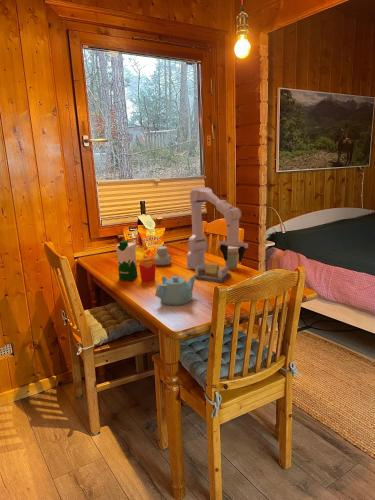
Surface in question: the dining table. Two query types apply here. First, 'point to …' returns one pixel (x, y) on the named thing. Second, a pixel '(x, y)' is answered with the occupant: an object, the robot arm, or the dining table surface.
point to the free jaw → (222, 272)
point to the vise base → (201, 276)
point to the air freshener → (162, 256)
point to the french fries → (147, 269)
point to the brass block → (211, 269)
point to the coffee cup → (232, 258)
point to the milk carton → (126, 260)
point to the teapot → (175, 290)
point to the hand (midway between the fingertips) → (233, 261)
